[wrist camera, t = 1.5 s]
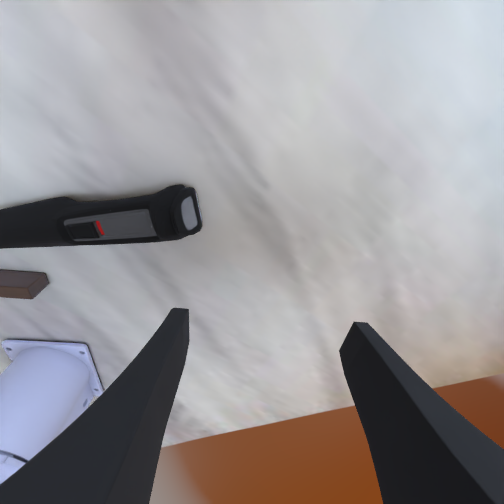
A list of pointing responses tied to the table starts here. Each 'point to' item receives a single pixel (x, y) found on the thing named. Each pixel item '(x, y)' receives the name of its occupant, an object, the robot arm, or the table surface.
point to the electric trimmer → (102, 220)
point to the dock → (21, 284)
